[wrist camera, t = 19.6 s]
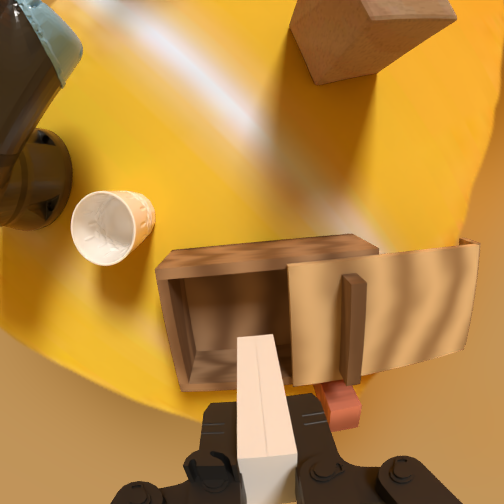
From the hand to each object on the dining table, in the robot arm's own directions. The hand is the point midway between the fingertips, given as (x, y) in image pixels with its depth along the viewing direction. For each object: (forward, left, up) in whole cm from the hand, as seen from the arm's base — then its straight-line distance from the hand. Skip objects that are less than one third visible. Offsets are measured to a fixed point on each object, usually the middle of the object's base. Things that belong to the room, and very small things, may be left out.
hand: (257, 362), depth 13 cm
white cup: (-15, +4, -29) cm, 33 cm away
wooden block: (+14, +25, -29) cm, 41 cm away
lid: (+17, -9, -23) cm, 29 cm away
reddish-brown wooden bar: (+10, -22, -29) cm, 37 cm away
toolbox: (+2, -9, -29) cm, 30 cm away
